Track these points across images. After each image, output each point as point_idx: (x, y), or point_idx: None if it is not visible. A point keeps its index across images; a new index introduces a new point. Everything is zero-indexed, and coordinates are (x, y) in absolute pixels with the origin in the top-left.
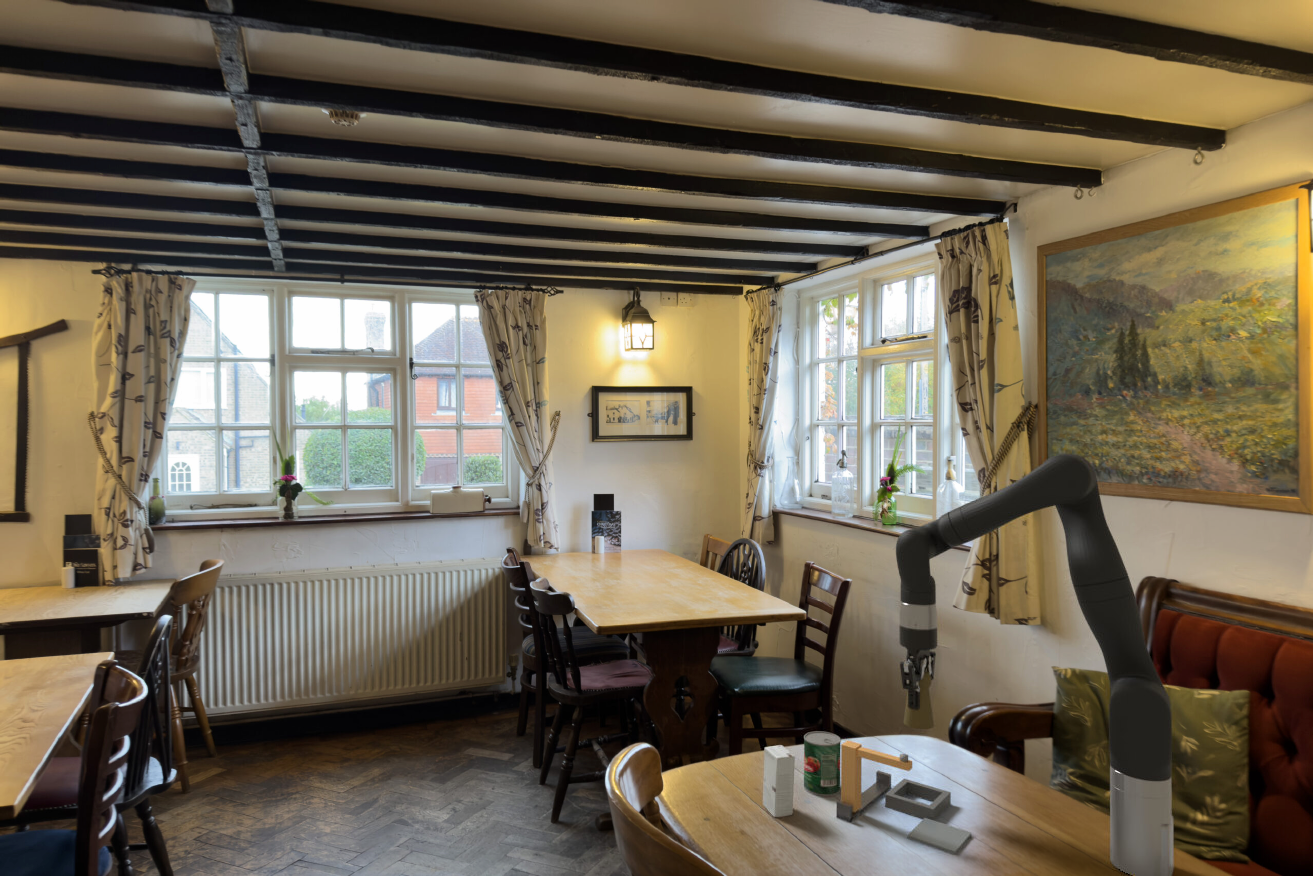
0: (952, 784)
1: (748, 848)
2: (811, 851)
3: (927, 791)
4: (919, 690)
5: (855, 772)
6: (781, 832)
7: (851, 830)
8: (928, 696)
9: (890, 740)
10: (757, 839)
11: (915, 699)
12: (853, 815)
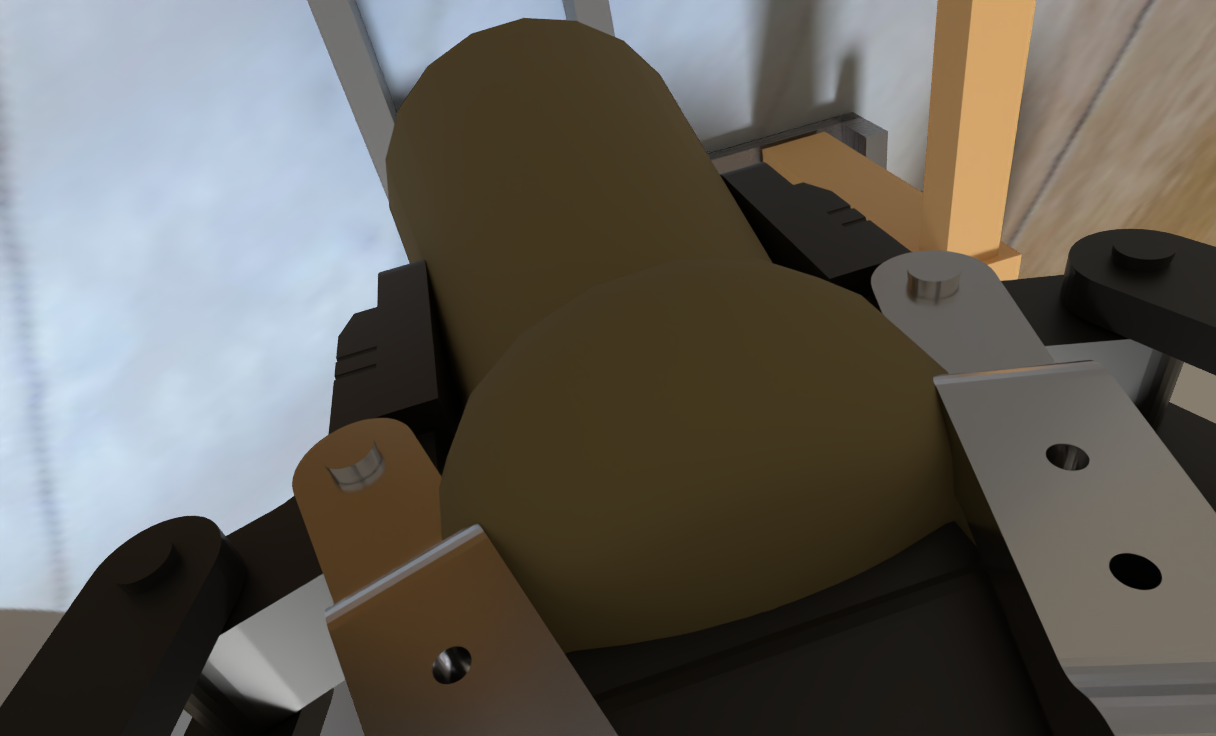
0: (43, 78)
1: (1198, 184)
2: (1131, 44)
3: (368, 49)
4: (916, 259)
5: (922, 198)
6: (1059, 203)
7: (907, 62)
8: (612, 196)
9: (5, 574)
10: (1136, 211)
11: (866, 229)
12: (831, 126)
